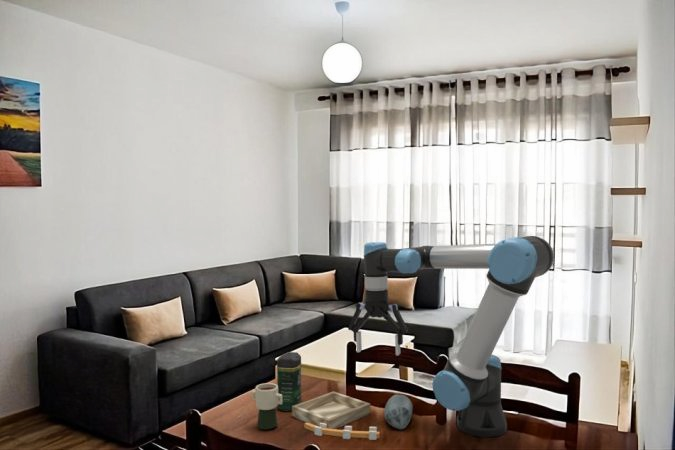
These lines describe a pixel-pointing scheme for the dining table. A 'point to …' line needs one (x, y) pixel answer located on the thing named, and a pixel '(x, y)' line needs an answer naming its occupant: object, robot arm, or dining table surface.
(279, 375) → the coffee jar
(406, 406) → the grey patterned ovoid
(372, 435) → the clips
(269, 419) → the character mug
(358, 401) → the wooden tray
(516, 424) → the dining table surface
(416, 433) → the dining table surface
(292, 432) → the dining table surface
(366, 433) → the cable
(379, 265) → the robot arm
